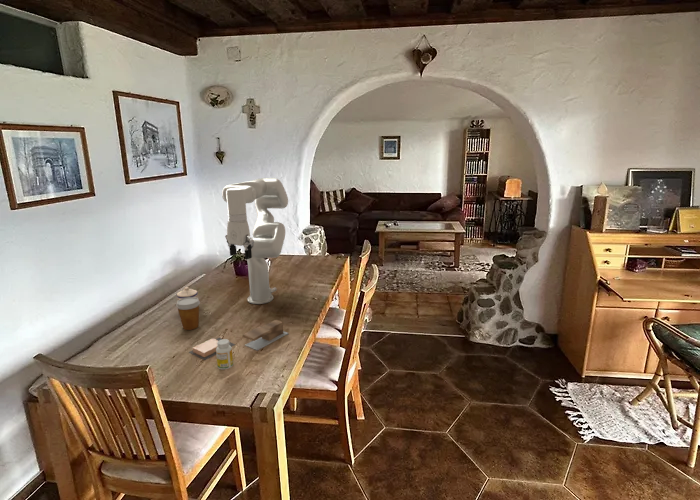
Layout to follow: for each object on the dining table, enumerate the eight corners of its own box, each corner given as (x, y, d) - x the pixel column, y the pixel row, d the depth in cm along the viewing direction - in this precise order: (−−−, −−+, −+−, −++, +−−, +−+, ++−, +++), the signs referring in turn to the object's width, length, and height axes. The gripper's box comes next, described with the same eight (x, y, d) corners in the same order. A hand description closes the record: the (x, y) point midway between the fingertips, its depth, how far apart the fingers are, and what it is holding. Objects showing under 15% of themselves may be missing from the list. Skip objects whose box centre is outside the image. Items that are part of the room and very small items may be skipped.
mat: (219, 338, 166) (219, 337, 166) (235, 345, 160) (235, 344, 160) (188, 353, 155) (188, 352, 155) (205, 361, 149) (204, 360, 149)
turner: (274, 330, 171) (273, 319, 170) (285, 333, 168) (284, 322, 167) (243, 346, 158) (242, 334, 157) (254, 350, 155) (253, 338, 154)
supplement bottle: (223, 372, 142) (220, 347, 140) (214, 366, 145) (211, 342, 143) (236, 365, 146) (234, 341, 143) (227, 360, 149) (225, 336, 147)
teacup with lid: (192, 315, 187) (189, 291, 184) (174, 314, 189) (171, 290, 186) (206, 305, 199) (204, 282, 196) (189, 304, 200) (186, 281, 197)
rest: (276, 329, 173) (276, 328, 173) (288, 334, 169) (288, 332, 169) (244, 346, 159) (244, 344, 159) (257, 351, 155) (257, 350, 155)
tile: (212, 338, 161) (192, 347, 154) (224, 343, 157) (203, 353, 150) (213, 342, 162) (192, 352, 155) (224, 347, 158) (204, 357, 151)
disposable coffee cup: (207, 323, 179) (204, 298, 176) (192, 333, 170) (189, 306, 167) (189, 320, 182) (186, 295, 179) (174, 330, 174) (170, 303, 170)
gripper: (217, 217, 175) (220, 255, 180) (244, 221, 165) (247, 262, 170) (231, 214, 181) (234, 251, 186) (258, 218, 171) (261, 257, 176)
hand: (240, 256), depth 178 cm, fingers open, 9 cm apart
